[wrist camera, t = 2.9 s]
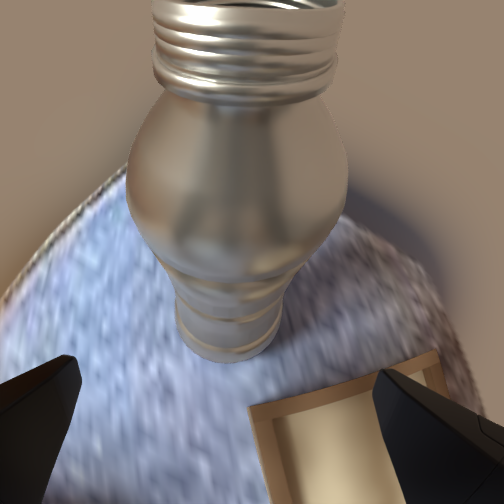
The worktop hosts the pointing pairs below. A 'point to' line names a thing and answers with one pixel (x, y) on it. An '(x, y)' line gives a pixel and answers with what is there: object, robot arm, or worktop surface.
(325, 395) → the stand
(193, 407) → the worktop surface
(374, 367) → the worktop surface
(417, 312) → the worktop surface
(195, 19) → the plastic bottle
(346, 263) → the worktop surface
